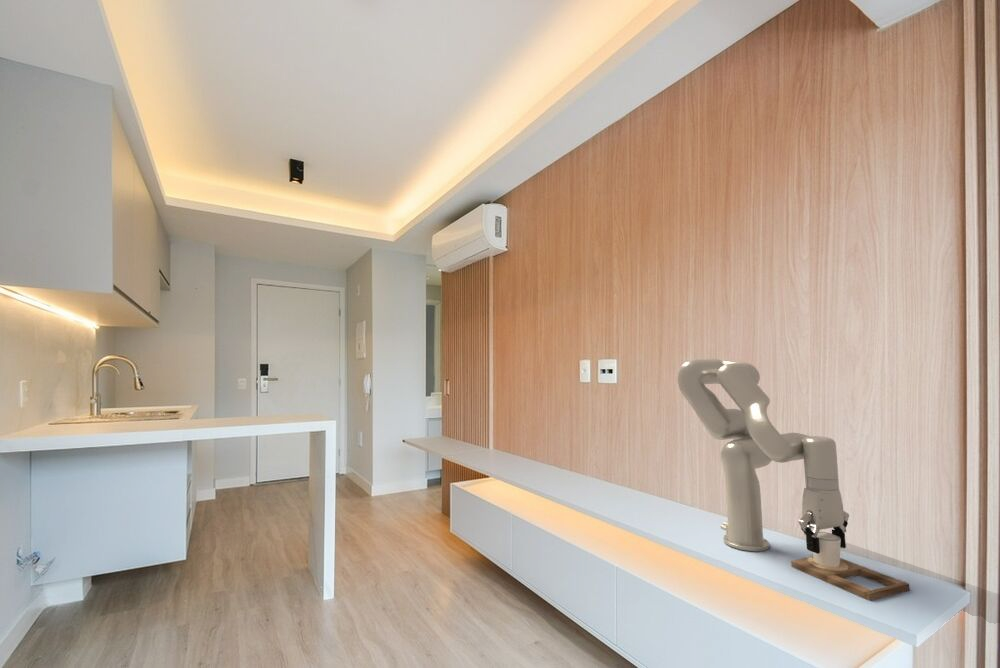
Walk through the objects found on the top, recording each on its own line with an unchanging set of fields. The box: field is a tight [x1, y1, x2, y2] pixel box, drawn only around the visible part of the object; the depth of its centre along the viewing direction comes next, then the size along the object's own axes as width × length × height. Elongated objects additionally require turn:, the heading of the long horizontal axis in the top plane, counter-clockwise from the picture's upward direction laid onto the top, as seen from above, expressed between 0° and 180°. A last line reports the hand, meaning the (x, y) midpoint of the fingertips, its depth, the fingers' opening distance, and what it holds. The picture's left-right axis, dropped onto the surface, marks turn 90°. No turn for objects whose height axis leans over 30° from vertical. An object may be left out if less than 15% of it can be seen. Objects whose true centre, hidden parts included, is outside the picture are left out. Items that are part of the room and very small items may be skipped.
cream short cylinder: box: [812, 531, 841, 567], centre depth 126 cm, size 7×7×7 cm
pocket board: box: [790, 556, 911, 601], centre depth 121 cm, size 20×14×2 cm
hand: (826, 548), depth 126 cm, fingers open, 9 cm apart
